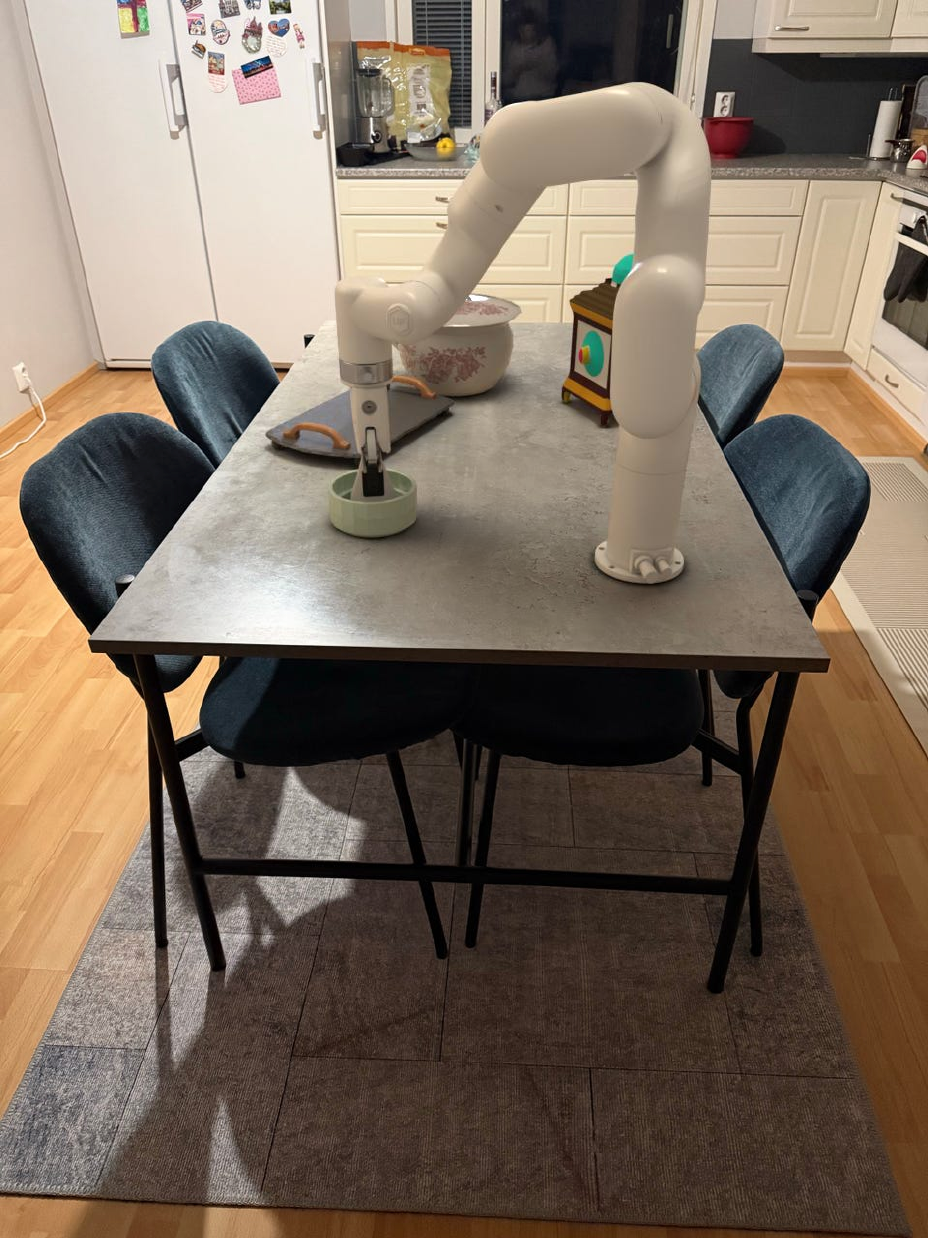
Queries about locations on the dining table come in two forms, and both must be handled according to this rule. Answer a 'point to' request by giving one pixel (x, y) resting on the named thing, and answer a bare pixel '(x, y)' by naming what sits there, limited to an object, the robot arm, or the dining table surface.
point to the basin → (372, 506)
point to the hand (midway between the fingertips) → (372, 486)
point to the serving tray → (333, 424)
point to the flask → (358, 488)
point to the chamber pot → (465, 348)
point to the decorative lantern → (594, 342)
